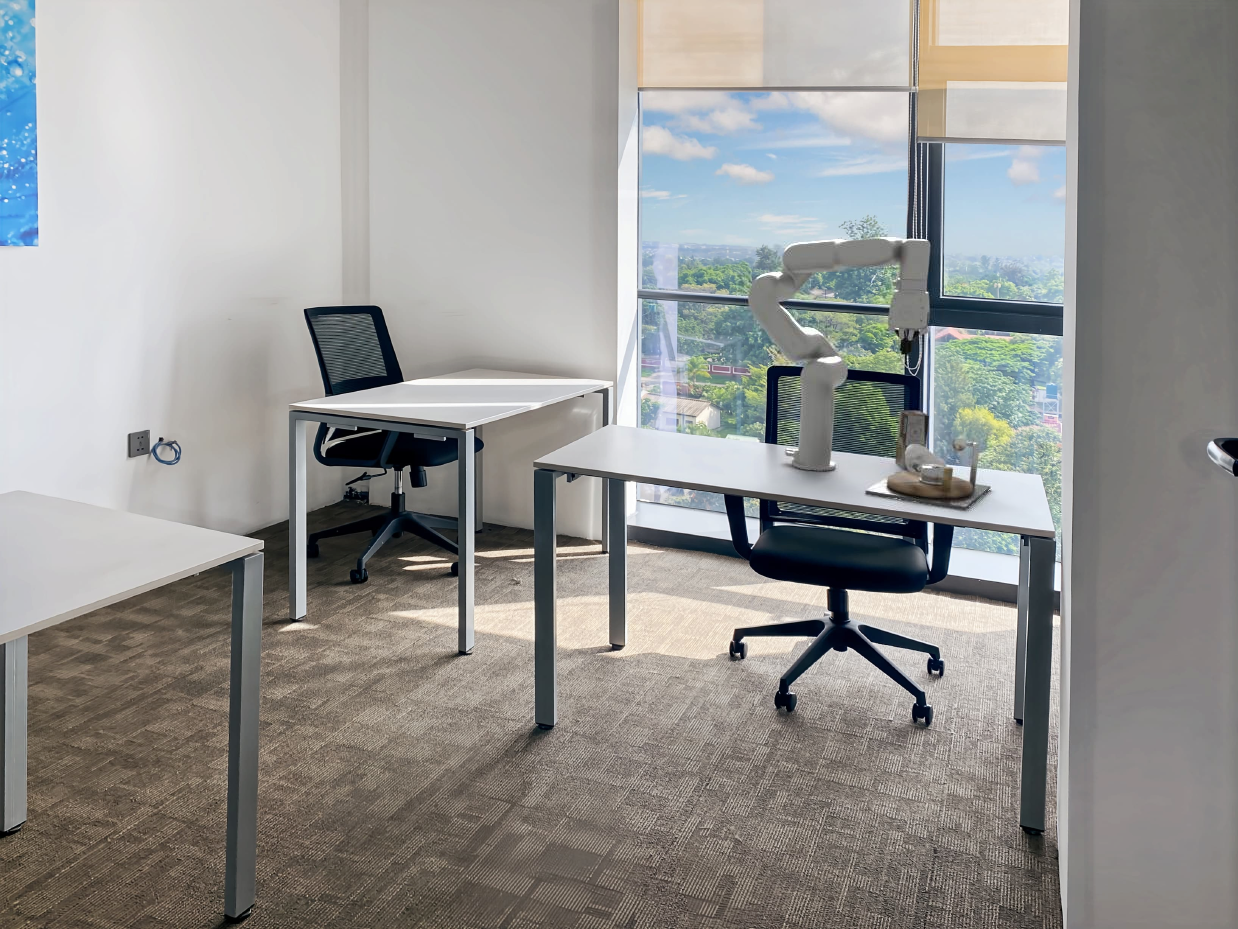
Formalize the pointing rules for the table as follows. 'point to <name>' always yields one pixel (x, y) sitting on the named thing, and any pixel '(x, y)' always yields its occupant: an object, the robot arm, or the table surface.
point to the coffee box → (910, 433)
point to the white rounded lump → (920, 457)
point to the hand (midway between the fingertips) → (905, 354)
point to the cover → (931, 474)
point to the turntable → (913, 486)
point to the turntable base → (954, 503)
